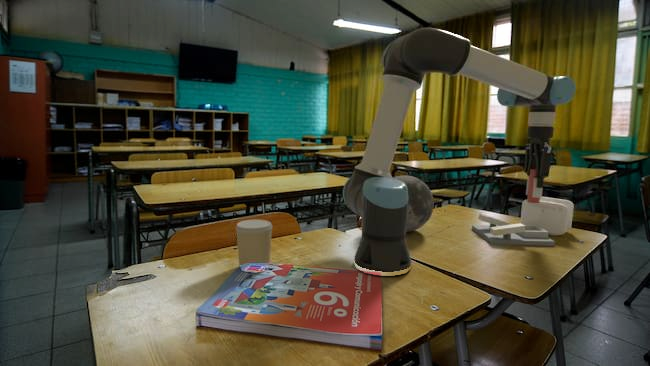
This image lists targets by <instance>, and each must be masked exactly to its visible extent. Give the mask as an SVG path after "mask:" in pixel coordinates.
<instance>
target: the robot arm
mask: <svg viewBox="0 0 650 366" xmlns="http://www.w3.org/2000/svg"><path fill="white" fill-rule="evenodd" d="M471 43H472V42H471V41H470V40H469V39H468V38H466V37H463V36H461V35H458V34H454V33H452V32H450V31H447V30H442V29H439V28H434V27H420V28H418V29H415V30H413V31H411V32H410V33H407V34H405V35H402V36H399V37H397V38H395V39H394V40H393V41H392V42H390V43H389V44H388V46H386V48H385V50H384V52H383V54H382V59H381V60H382V62H381V63H382V68H383V72H382V75H381V78H382V79H381V80H382V81H383V83H384V88H383V90H382V94H381V97H380V100H379V102H378V103H379V104H378V107H377V110H376V113H375V117H374V120H373V124H372V127H371V130H370V133H369V136H368V140H367V144H366V147H365V151H364V153H363V156H362V160H361V162H360V163H359V164H357V165H355V166H354V169H353V171H352V175H351V177H350V178H348V179H347V180H346V182H344V183H345V184H344V186H343V188H342V189H343V190H342V198H343V201H344V203H345V205H346V206H347V207H348V209H349V210H350V212H352V213H354V214H355V215H357V216H359V217H360V218H361V238H360V241H359V243H358V247H357V249H356V252H355V255H354V260H353V261H355V263H356V264H357V265H358V266H360V267H362V268H366V269H369V270H375V271H382V272H394V271H400V270H404V269H407V268H409V267H410V265H411V266H412V258H411V255H410V251H409V248H408V245H407V244H408V243H407V239H406V238H407V232H406V224H407V207H408V188H407V186H406V184H405V183H403V182H402V181H400V180H397V179H392V178H394V177H393V176H392V174H391V171H390V170H391V168H392V164H393V160H394V157H395V153H396V151H397V147H398V144H399V141H400V137H401V134H402V132H403V127H404V124H405V121H406V119H407V114H408V111H409V109H410V106H411V102H412V99H413V95H414V92H416V91H417V90H419V89H421V87H422V85H423V82H424V79H425V75H426V74H434V73H437V74H445V75H447V76H451V77H454V76H457V75H460V76H463V77H466V78H469V79H472V80H473V81H474V80H475V81H478V82H480V83H483V84H486V85H488V86H491V87H495V88H497V92H496V93H497V95H496V100H497V102H498V104H499V105H501V106H504V107H509V108H510V107H511V108H512V107H517V108H518V107H529V110H528V121H527V125H529V126H528V127H527V132H526V137H527V138H530V141H529V143H526V144H525V145H524V148H525V149H524V150H525V154H524V156H525V157H524V169H523V170H524V173H525V174H526V175H527V181H526V189H525V195H526V196H528V188H529V178H530V169H536V176H534V184H533V194H532V197H537V198H542V197H543V188H544V181H545V180H544V179H545V178H548V177H549V176H550V169H551V164H552V163H551V161H552V156H553V155H552V154H553V152H554V150H555V148H554V146H550V141H549V139H552V138H553V137H554V131H555V127H554V126H553V125H555V119H556V118H557V117H556V116H557V115H556V113H557V112H556V111H557V106H558V105H565V104H568V103H569V102H571V101H572V100H573V99H574V97H575V94H576V90H577V87H576V86H577V85H576V83H575V81H574V79H573V78H571V77H569V76H567V75H566V76H565V75H564V76H561V75H560V76H553V75H550V74H546V73H543V72H540V71H538V70H536V69H533V68H531V67H528V66H525V65H523V64H520V63H518V62H515V61H513V60H510V59H507V58H505V57H502V56H500V55H498V54H494V53H492V52H489V51H487V50H484V49H481V48H480V47H479V48H478V47H476V46H473V45H472V44H471Z"/></svg>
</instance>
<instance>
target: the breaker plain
mask: <svg viewBox="0 0 650 366" xmlns="http://www.w3.org/2000/svg"><path fill="white" fill-rule="evenodd" d="M477 219H478V220H479V221H480V222H483V223H488V224H490V223H491V224H494V225H497V226H504V225H511V224H510V222H509V221H507V220H504V219H501V218H496V217H494V216H490V215H487V214H483V213H479V215H478V216H477Z"/></svg>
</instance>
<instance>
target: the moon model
mask: <svg viewBox="0 0 650 366" xmlns="http://www.w3.org/2000/svg"><path fill="white" fill-rule="evenodd" d="M392 179H397V180H400V181H402V182H403V183H405V184H406V186H407V188H408V207H407V224H406V233H407V232H413V231H417V230H418V229H420V228H422V227H423V226H424V225H426V224H427V222H428V221H430V219H431V218H432V217H431V216H432V215H433V213H434V206H435V204H434V196H433V194H432V190H431V189H430V188H429V186H428V185H427V184H426V183H425V182H424V181H422V180H421V179H419V178H418V177H415V176H411V175H406V174H405V175H398V176H394V177H393V178H392Z"/></svg>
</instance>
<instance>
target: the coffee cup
mask: <svg viewBox="0 0 650 366" xmlns="http://www.w3.org/2000/svg"><path fill="white" fill-rule="evenodd" d="M235 230H236V231H235V232H236V244H237V251H238V253H237V255H238V265H239V266H240V265H243V264H245V263H270V264H271V249H272V247H271V246H272V234H273V233H272V231H273V224H272V223H271V221H269V220H267V219H266V220H265V219H258V218H257V219H256V218H255V219H254V218H253V219H246V220H240V221H239V222H237V223H236V226H235Z"/></svg>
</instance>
